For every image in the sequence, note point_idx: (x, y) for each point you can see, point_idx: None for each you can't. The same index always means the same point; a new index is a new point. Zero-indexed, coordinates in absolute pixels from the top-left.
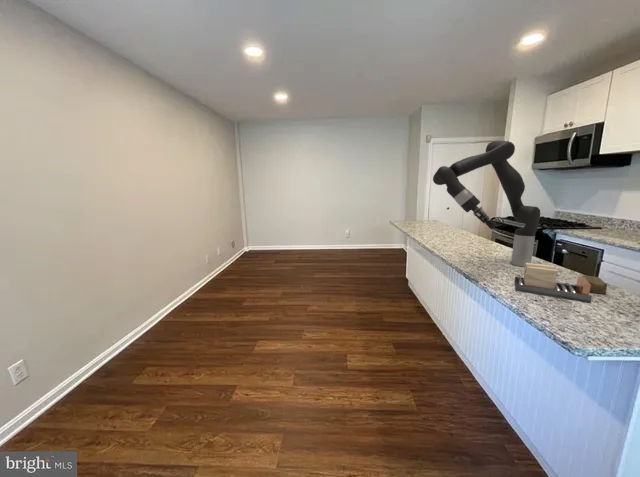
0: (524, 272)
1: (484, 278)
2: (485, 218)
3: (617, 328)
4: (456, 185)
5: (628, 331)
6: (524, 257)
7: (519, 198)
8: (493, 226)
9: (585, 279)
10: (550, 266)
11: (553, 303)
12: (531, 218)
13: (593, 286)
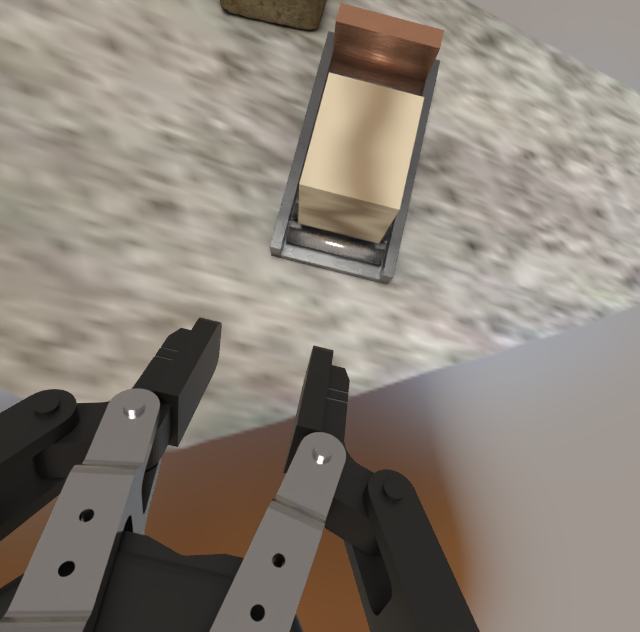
0: (302, 209)
1: (253, 377)
2: (425, 536)
3: (612, 109)
4: None
5: (621, 93)
6: None
7: None
8: (344, 373)
9: (371, 13)
10: (345, 94)
11: (480, 197)
12: None
13: (323, 1)
